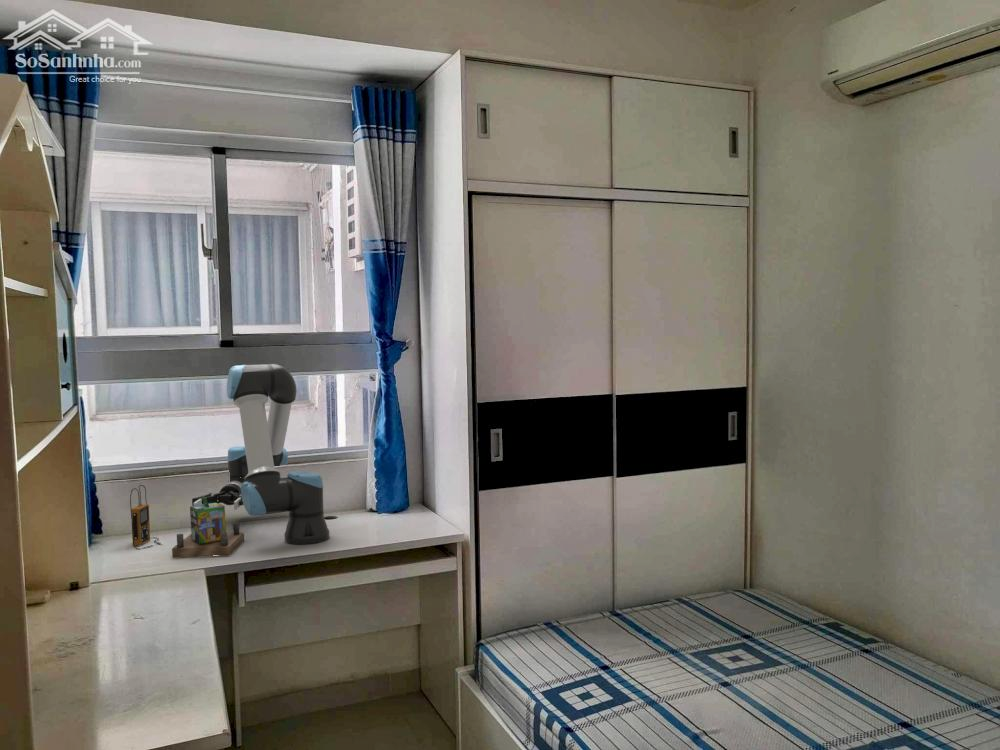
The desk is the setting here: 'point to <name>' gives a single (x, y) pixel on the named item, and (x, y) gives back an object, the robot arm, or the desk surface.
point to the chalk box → (207, 522)
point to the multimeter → (140, 522)
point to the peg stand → (209, 545)
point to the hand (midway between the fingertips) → (214, 506)
